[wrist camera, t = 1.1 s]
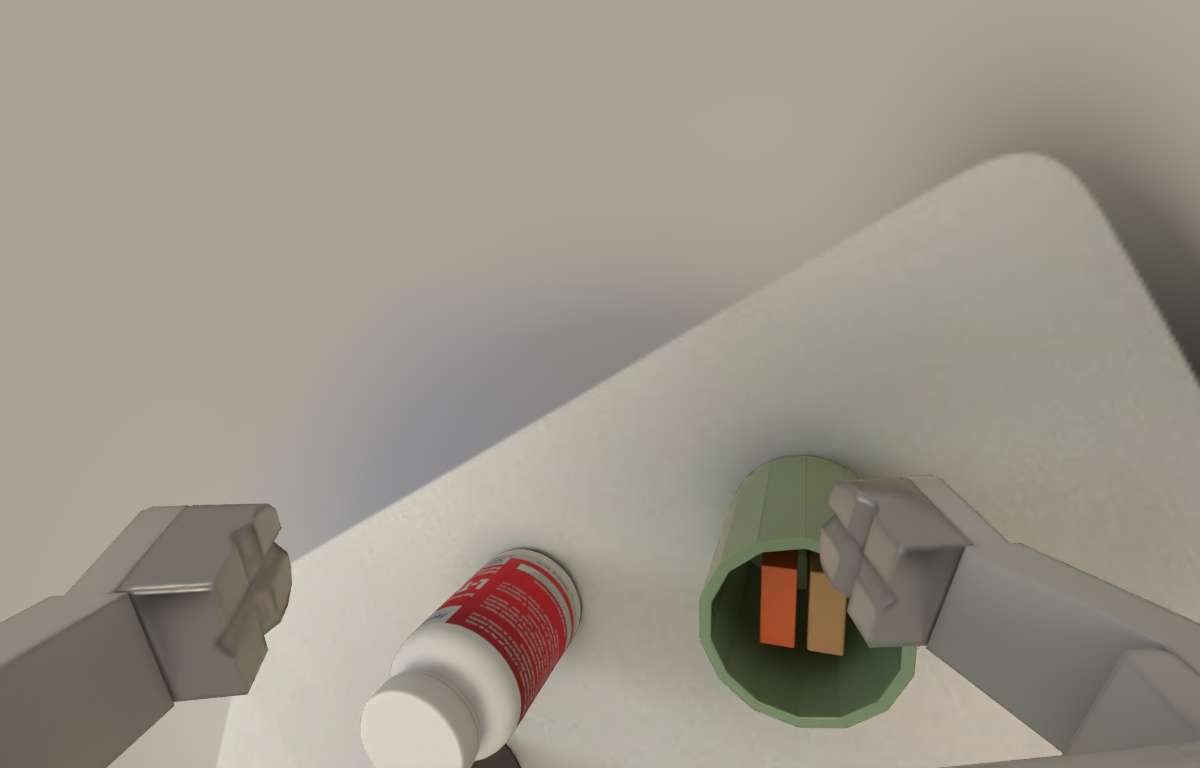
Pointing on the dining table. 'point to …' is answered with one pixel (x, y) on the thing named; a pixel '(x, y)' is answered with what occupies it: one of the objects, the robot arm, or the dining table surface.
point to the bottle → (498, 760)
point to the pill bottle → (473, 666)
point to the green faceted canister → (732, 607)
